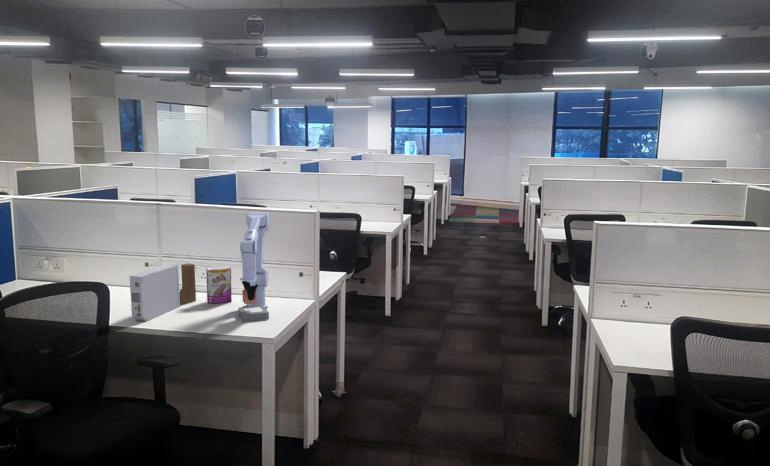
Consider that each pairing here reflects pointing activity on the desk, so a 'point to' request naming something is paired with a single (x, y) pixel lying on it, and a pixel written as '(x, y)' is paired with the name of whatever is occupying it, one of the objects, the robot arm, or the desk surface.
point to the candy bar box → (218, 285)
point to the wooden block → (188, 284)
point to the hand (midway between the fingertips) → (250, 298)
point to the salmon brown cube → (245, 298)
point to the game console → (154, 292)
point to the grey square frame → (253, 313)
